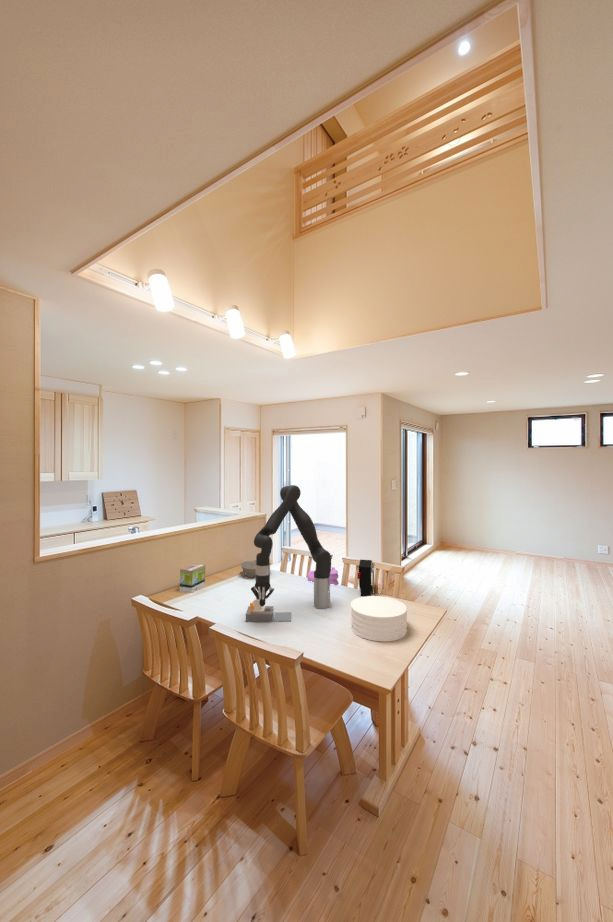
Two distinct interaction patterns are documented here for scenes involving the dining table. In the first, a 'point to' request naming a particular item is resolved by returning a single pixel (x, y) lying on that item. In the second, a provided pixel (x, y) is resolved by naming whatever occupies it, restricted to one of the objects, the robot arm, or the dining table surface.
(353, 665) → the dining table surface
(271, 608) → the grey rectangular tray
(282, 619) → the mat
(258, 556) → the robot arm
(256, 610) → the plug
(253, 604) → the clip
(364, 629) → the plate stack
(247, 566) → the ceramic bowl
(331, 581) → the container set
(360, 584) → the electrical component
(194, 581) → the tea box
